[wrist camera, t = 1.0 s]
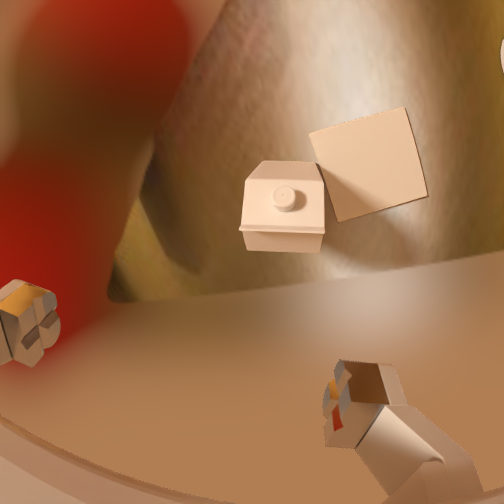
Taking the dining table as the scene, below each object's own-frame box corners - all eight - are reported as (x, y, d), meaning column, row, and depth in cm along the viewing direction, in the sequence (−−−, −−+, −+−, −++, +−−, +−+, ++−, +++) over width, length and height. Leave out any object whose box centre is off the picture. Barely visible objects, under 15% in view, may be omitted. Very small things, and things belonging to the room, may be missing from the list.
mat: (403, 106, 37) (404, 106, 37) (426, 195, 41) (427, 195, 41) (308, 133, 41) (308, 133, 41) (337, 221, 45) (338, 222, 45)
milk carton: (313, 212, 45) (322, 271, 28) (262, 210, 46) (240, 268, 29) (314, 161, 42) (327, 189, 25) (262, 160, 43) (237, 187, 26)
